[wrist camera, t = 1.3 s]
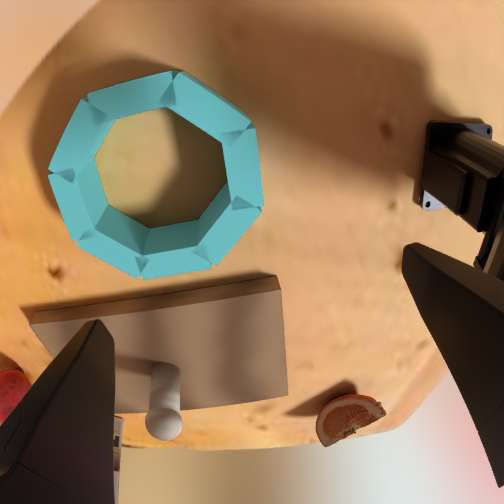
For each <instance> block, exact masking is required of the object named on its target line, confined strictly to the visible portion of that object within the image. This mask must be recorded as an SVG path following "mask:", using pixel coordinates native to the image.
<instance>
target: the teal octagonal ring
mask: <svg viewBox="0 0 504 504" xmlns="http://www.w3.org/2000/svg"><path fill="white" fill-rule="evenodd" d="M163 107H168V108H169V109H171V110H172V111H174V112H176V113H177V114H179V115H180V116H182V117H183V118H185V119H186V120H188V121H190V122H191V123H193V124H194V125H196V126H197V127H199V128H200V129H202V130H203V131H205V132H206V133H208V134H209V135H211V136H212V137H214V138H215V139H217V140H218V141H220V142H221V143H222V148H223V154H224V160H225V167H226V173H227V179H228V181H227V182H226V184H225V185H224V186H223V188H222V189H221V190H220V191H219V193H218V194H217V195H216V197H215V198H214V199H213V201H212V202H211V203H210V204H209V206H208V207H207V208H206V210H205V211H204V212H203V214H202V215H201V216H200V218H199V219H198V220H194V221H189V222H183V223H178V224H172V225H167V226H161V227H156V228H151V229H150V228H148V227H146V226H144V225H143V224H141V223H139V222H137V221H136V220H134V219H132V218H130V217H129V216H127V215H125V214H124V213H122V212H120V211H118V210H117V209H115V208H113V207H111V206H110V205H108V203H107V200H106V196H105V193H104V190H103V187H102V184H101V180H100V177H99V174H98V170H97V167H96V164H95V160H94V157H95V155H96V153H97V151H98V149H99V147H100V146H101V144H102V142H103V140H104V138H105V137H106V135H107V133H108V131H109V130H110V128H111V126H112V124H113V123H114V121H115V119H119V118H122V117H126V116H130V115H134V114H138V113H142V112H146V111H150V110H154V109H159V108H163ZM48 169H49V170H50V171H52V172H51V173H50V174H49V175H48V178H49V181H50V184H51V187H52V190H53V193H54V195H55V198H56V201H57V204H58V206H59V209H60V212H61V214H62V217H63V219H64V222H65V224H66V227H67V229H68V232H69V234H70V237H71V239H72V241H77V240H79V242H78V245H77V247H79V248H81V249H83V250H84V251H86V252H88V253H90V254H92V255H93V256H95V257H97V258H99V259H101V260H102V261H104V262H106V263H108V264H110V265H112V266H114V267H115V268H117V269H119V270H121V271H123V272H125V273H127V274H129V275H131V276H133V277H134V278H136V279H137V278H138V277H139V275H140V274H141V276H142V278H143V280H146V279H152V278H158V277H164V276H170V275H177V274H183V273H189V272H195V271H201V270H207V269H211V263H212V264H214V265H216V266H217V265H218V264H219V262H220V261H221V260H222V259H223V258H224V256H225V255H226V254H227V253H228V252H229V250H230V249H231V248H232V247H233V246H234V245H235V243H236V242H237V241H238V240H239V239H240V237H241V236H242V235H243V234H244V233H245V232H246V230H247V229H248V228H249V227H250V226H251V224H252V223H253V222H254V221H255V220H256V219H257V217H258V216H259V215H260V214H261V213H262V210H261V207H260V206H264V199H263V190H262V181H261V172H260V163H259V155H258V146H257V138H256V129H255V127H254V125H253V124H252V123H251V120H250V119H249V117H248V116H247V115H246V113H245V112H244V111H242V110H241V109H240V108H238V107H237V106H235V105H234V104H233V103H231V102H230V101H228V100H227V99H225V98H224V97H223V96H221V95H220V94H218V93H217V92H215V91H214V90H212V89H211V88H209V87H208V86H206V85H205V84H203V83H202V82H200V81H199V80H197V79H196V78H194V77H193V76H191V75H190V74H188V73H186V72H185V71H182V72H179V73H178V70H173V71H168V72H163V73H159V74H155V75H151V76H147V77H143V78H139V79H135V80H131V81H127V82H124V83H120V84H117V85H113V86H110V87H107V88H104V89H100V90H97V91H94V92H91V93H88V94H87V97H85V98H82V99H81V100H80V102H79V104H78V106H77V108H76V109H75V111H74V113H73V115H72V117H71V119H70V121H69V123H68V125H67V127H66V129H65V131H64V133H63V136H62V138H61V140H60V142H59V144H58V146H57V149H56V151H55V153H54V155H53V158H52V160H51V162H50V165H49V167H48Z"/></svg>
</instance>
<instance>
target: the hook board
mask: <svg viewBox="0 0 504 504" xmlns="http://www.w3.org/2000/svg"><path fill="white" fill-rule="evenodd" d="M92 319H100V320H101V321H102V322H103V323H104V325H105V326H106V328H107V329H108V331H109V332H110V333H111V335H112V337H113V339H114V343H115V386H116V388H115V409H114V414H116V413H147V415H146V419H145V424H146V428H147V430H148V432H149V433H150V434H151V435H152V436H153V437H155V438H156V439H159V440H164V441H167V440H171V439H174V438H175V437H177V436H178V435H179V434H180V432H181V430H182V419H181V416H180V410H191V409H201V408H210V407H218V406H226V405H234V404H241V403H247V402H254V401H260V400H266V399H271V398H277V397H282V396H287V395H288V383H287V367H286V351H285V337H284V322H283V309H282V296H281V288H280V285H279V281H278V278H277V276H273V277H267V278H262V279H256V280H250V281H244V282H238V283H232V284H226V285H220V286H214V287H207V288H201V289H195V290H189V291H182V292H176V293H169V294H163V295H156V296H149V297H143V298H136V299H129V300H122V301H115V302H108V303H100V304H93V305H86V306H78V307H70V308H63V309H55V310H47V311H39V312H34V314H33V317H32V319H31V321H30V323H29V326H30V327H31V329H32V330H33V332H34V333H35V334H36V336H37V337H38V339H39V340H40V341H41V343H42V344H43V346H44V347H45V348H46V350H47V351H48V352H49V354H50V355H51V356H52V358H53V359H54V358H55V357H56V356H57V355H58V354H59V352H60V351H61V350H62V349H63V348H64V347H65V345H66V344H67V343H68V342H69V341H70V340H71V338H72V337H73V336H74V335H75V334H76V333H77V332H78V330H79V329H80V328H81V327H82V326H83V325H84V324H85V323H86V322H87V321H88V320H92Z"/></svg>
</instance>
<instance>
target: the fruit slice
mask: <svg viewBox="0 0 504 504" xmlns="http://www.w3.org/2000/svg"><path fill="white" fill-rule="evenodd" d="M385 415H386V411H385V410H384V409H383V407H382V406H381V402H376V400H375V399H373V398H372V397H369V396H365V395H357V394H349V395H344V396H340V397H337V398H335V399H333V400H331V401H330V402H329V403H327V404H326V405H325V406H324V407H323V408H322V410H321V411H320V413H319V415H318V418H317V421H316V433H317V436H318V438H319V440H320V442H321V443H322V444H323V446H325V447H327V446H330V445H332V444H334V443H336V442H337V441H339V440H340V439H344V438H346V437H348V436H349V435H351V434H353V433H356V432H355V431H356V430H357V429H359V428H361V427H365V426H367V425H369V424H371V423H372V422H375V421H377V420H379V419H380V418H382V417H384V416H385Z"/></svg>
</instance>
